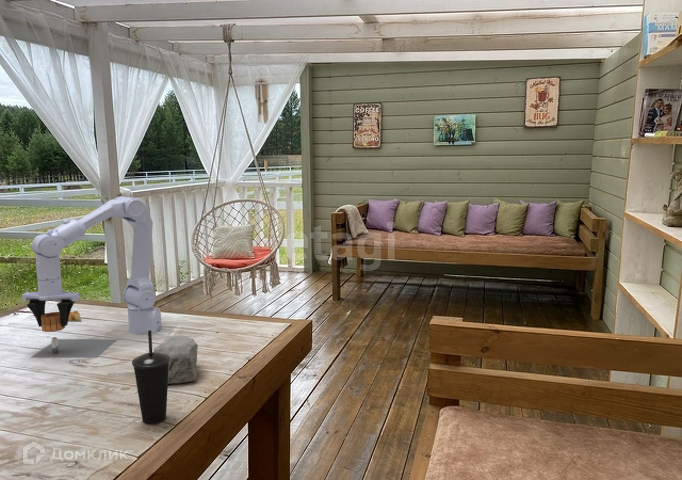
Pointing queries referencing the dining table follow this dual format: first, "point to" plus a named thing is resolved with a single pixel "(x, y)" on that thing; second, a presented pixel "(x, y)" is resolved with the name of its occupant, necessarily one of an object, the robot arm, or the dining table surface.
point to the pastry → (74, 317)
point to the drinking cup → (152, 384)
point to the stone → (180, 358)
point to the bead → (51, 322)
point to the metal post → (54, 345)
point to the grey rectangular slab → (76, 348)
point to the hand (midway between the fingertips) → (53, 325)
